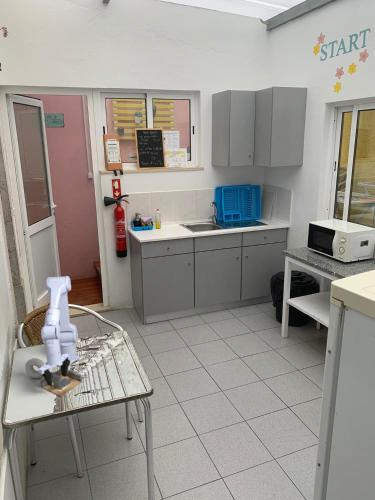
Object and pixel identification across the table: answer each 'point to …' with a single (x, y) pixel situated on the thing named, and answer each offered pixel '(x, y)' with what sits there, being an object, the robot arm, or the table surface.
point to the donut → (31, 370)
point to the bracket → (59, 382)
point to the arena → (71, 376)
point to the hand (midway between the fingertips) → (57, 380)
